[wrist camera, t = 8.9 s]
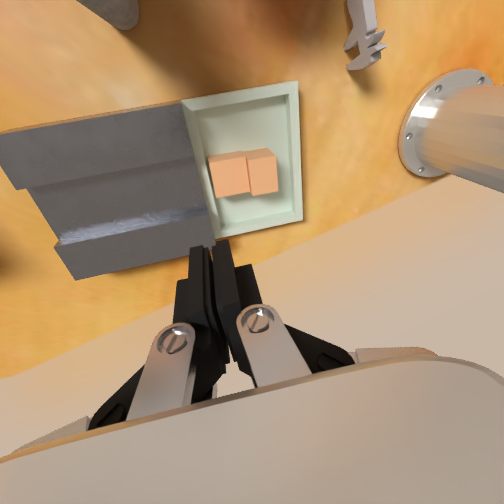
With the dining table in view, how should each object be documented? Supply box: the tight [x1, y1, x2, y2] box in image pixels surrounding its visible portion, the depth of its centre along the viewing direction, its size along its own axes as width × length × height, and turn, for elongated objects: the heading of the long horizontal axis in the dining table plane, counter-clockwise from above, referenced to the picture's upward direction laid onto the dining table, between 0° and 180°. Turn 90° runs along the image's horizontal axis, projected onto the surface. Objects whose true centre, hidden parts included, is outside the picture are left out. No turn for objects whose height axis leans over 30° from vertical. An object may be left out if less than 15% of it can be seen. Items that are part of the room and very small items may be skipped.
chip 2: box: [243, 148, 278, 196], centre depth 31 cm, size 4×4×3 cm
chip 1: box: [207, 151, 250, 198], centre depth 31 cm, size 4×4×3 cm
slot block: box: [0, 100, 216, 280], centre depth 30 cm, size 17×16×4 cm
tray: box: [181, 81, 303, 239], centre depth 32 cm, size 12×16×2 cm
